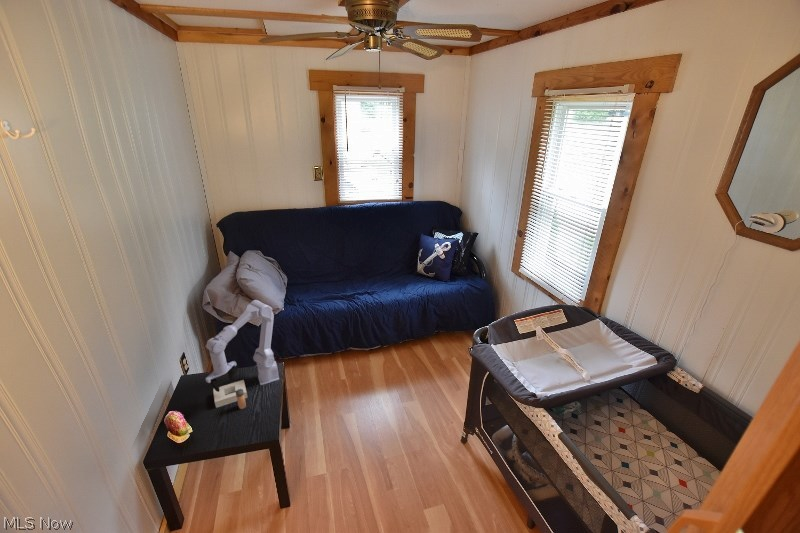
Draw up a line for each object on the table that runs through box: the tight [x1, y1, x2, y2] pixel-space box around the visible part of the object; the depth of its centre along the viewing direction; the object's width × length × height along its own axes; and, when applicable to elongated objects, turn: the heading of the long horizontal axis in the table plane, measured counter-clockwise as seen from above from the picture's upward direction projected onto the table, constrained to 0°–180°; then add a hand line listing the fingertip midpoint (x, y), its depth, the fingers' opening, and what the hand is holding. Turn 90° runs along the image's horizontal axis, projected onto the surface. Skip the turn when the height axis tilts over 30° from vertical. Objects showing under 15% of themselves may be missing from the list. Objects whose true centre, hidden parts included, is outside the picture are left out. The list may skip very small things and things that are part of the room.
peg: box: [235, 389, 247, 410], centre depth 171 cm, size 3×3×9 cm
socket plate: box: [212, 379, 248, 409], centre depth 179 cm, size 14×10×4 cm
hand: (224, 385), depth 172 cm, fingers open, 7 cm apart
